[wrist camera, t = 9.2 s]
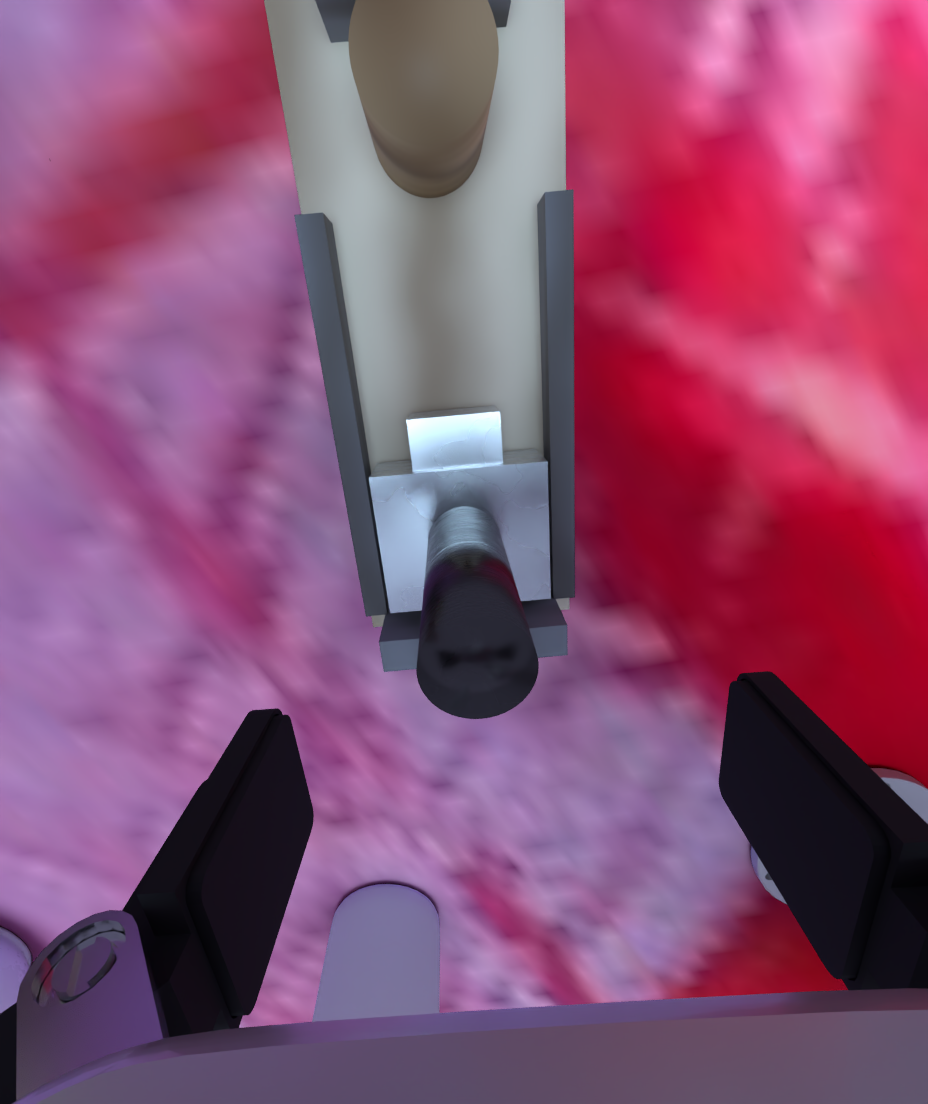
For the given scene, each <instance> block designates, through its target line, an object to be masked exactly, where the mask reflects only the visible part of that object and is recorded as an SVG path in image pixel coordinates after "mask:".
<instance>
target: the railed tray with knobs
mask: <svg viewBox="0 0 928 1104" xmlns="http://www.w3.org/2000/svg"><path fill="white" fill-rule="evenodd" d="M355 1H356V0H264V2H265V8H266V14H267V19H268V25H269V31H270V37H271V42H272V48H273V54H274V60H275V65H276V71H277V77H278V83H279V88H280V94H281V100H282V106H283V111H284V117H285V123H286V128H287V134H288V140H289V146H290V151H291V157H292V163H293V169H294V174H295V180H296V186H297V192H298V197H299V203H300V209H301V214H300V215H294V216H295V222H296V227H297V233H298V238H299V244H300V249H301V255H302V261H303V266H304V272H305V277H306V283H307V289H308V294H309V300H310V305H311V311H312V317H313V322H314V328H315V333H316V339H317V345H318V350H319V356H320V361H321V367H322V373H323V378H324V384H325V389H326V395H327V401H328V406H329V412H330V417H331V423H332V429H333V434H334V440H335V445H336V451H337V457H338V462H339V468H340V473H341V479H342V484H343V490H344V496H345V501H346V507H347V512H348V518H349V524H350V529H351V535H352V540H353V546H354V552H355V557H356V563H357V568H358V574H359V580H360V585H361V591H362V596H363V602H364V608H365V613H366V616H372V622H373V627H380V626H383V627H382V631H381V635H380V640H379V645H380V651H381V657H382V663H383V669H384V672H387V671H398V670H409V669H416V668H417V657H418V646H419V635H420V624H421V613H422V610H420V611H409V612H399V613H390V609H389V603H388V597H387V590H386V584H385V578H384V571H383V565H382V559H381V552H380V546H379V540H378V533H377V527H376V521H375V515H374V508H373V502H372V496H371V489H370V483H369V476H370V475H371V473H372V472H373V470H374V468H375V467H376V465H377V463H383V462H394V461H405V460H411V453H410V445H409V437H408V429H407V421H406V420H407V418H408V416H409V415H410V413H415V412H426V411H437V410H448V409H459V408H470V407H481V406H492V405H495V406H496V407H497V409H498V410H499V411H500V417H501V435H502V452H503V451H514V450H525V449H537V451H538V452H539V453H540V454H541V455H542V456H543V457H544V458H545V459H546V460H547V461H548V498H549V541H550V584H551V599H540V600H529V601H521V603H522V606H523V610H524V613H525V616H526V620H527V623H528V626H529V629H530V633H531V636H532V639H533V643H534V646H535V649H536V653H537V656H538V658H540V657H551V656H562V655H567V623H566V621H565V619H564V617H563V614H562V612H561V610H565V609H569V598H572V597H575V519H574V229H573V190H566V136H565V12H564V0H488V2H489V5H490V7H491V10H492V13H493V16H494V20H495V23H496V28H497V35H498V46H499V56H498V68H497V74H496V80H495V85H494V90H493V95H492V100H491V105H490V110H489V115H488V120H487V125H486V130H485V135H484V140H483V145H482V150H481V153H480V157H479V160H478V162H477V165H476V167H475V169H474V171H473V172H472V174H471V175H470V177H469V178H468V179H467V180H466V181H465V183H464V184H463V185H461V186H460V187H459V188H458V189H456V190H455V191H453V192H452V193H449V194H447V195H445V196H441V197H436V198H423V197H419V196H415V195H413V194H410V193H408V192H406V191H404V190H403V189H401V188H400V187H399V186H397V185H396V184H395V183H394V182H393V181H392V180H391V179H390V177H389V176H388V175H387V174H386V172H385V171H384V169H383V167H382V166H381V164H380V161H379V159H378V157H377V154H376V151H375V148H374V145H373V141H372V138H371V134H370V131H369V128H368V124H367V121H366V117H365V114H364V111H363V107H362V104H361V101H360V97H359V94H358V90H357V87H356V84H355V80H354V77H353V73H352V69H351V65H350V57H349V42H348V38H349V26H350V20H351V15H352V11H353V8H354V4H355Z"/></svg>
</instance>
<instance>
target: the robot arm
mask: <svg viewBox="0 0 928 1104" xmlns="http://www.w3.org/2000/svg"><path fill="white" fill-rule="evenodd" d="M719 788H720V792H721V795H722V797H723V799H724V801H725V803H726V804H727V806H728V808H729V809H730V811H731V813H732V814H733V816H734V818H735V819H736V821H737V822H738V824H739V826H740V827H741V829H742V831H743V832H744V834H745V836H746V837H747V839H748V841H749V842H750V844H751V846H752V847H751V861H752V866H753V868H754V870H755V873H756V875H757V876H758V878H759V880H760V881H761V883H762V884H763V886H764V887H765V889H766V890H767V891H768V892H769V893H770V894H771V895H772V896H773V897H774V898H776V899H778V900H780V901H781V902H783V903H785V904H787V905H788V906H789V908H790V910H791V911H792V913H793V915H794V916H795V918H796V920H797V921H798V923H799V925H800V926H801V928H802V930H803V931H804V933H805V934H806V936H807V938H808V939H809V941H810V943H811V944H812V946H813V948H814V949H815V951H816V953H817V954H818V956H819V958H820V959H821V961H822V962H823V964H824V966H825V967H826V969H827V970H828V972H829V973H830V974H831V975H832V976H833V977H834V978H836V979H842V980H843V982H844V983H845V985H846V987H847V988H848V990H843V991H814V992H792V993H774V994H755V995H737V996H718V997H700V998H682V999H663V1000H645V1001H629V1002H612V1003H595V1004H578V1005H561V1006H545V1007H529V1008H512V1009H496V1010H480V1011H464V1012H449V1013H434V1014H419V1015H404V1016H389V1017H374V1018H359V1019H344V1020H329V1021H315V1022H304V1023H292V1024H281V1025H269V1026H258V1027H246V1028H239V1025H240V1022H241V1019H242V1016H243V1015H249V1014H250V1013H251V1012H252V1010H253V1008H254V1006H255V1003H256V1000H257V997H258V994H259V991H260V988H261V985H262V982H263V979H264V976H265V972H266V969H267V966H268V963H269V960H270V957H271V954H272V951H273V948H274V945H275V941H276V938H277V935H278V932H279V929H280V926H281V923H282V920H283V917H284V914H285V910H286V907H287V904H288V901H289V898H290V895H291V892H292V889H293V886H294V882H295V879H296V876H297V873H298V870H299V867H300V864H301V861H302V858H303V855H304V851H305V848H306V845H307V842H308V839H309V836H310V833H311V830H312V826H313V807H312V803H311V799H310V795H309V791H308V787H307V783H306V779H305V775H304V771H303V767H302V763H301V759H300V755H299V751H298V747H297V743H296V739H295V735H294V731H293V727H292V723H291V719H290V717H289V716H288V715H282V712H281V711H280V709H264V710H252V711H250V712H249V713H248V714H247V716H246V717H245V719H244V721H243V722H242V724H241V726H240V727H239V729H238V730H237V732H236V734H235V735H234V737H233V739H232V740H231V742H230V743H229V745H228V747H227V748H226V750H225V752H224V753H223V755H222V757H221V758H220V760H219V761H218V763H217V765H216V766H215V768H214V770H213V771H212V773H211V774H210V776H209V778H208V779H207V780H206V781H204V782H203V783H202V784H201V786H200V787H199V788H198V790H197V791H196V793H195V795H194V796H193V798H192V799H191V801H190V803H189V804H188V806H187V807H186V809H185V811H184V812H183V814H182V815H181V817H180V819H179V820H178V822H177V823H176V825H175V827H174V828H173V830H172V831H171V833H170V835H169V836H168V838H167V839H166V841H165V843H164V844H163V846H162V848H161V849H160V851H159V852H158V854H157V856H156V857H155V859H154V860H153V862H152V864H151V865H150V867H149V868H148V870H147V872H146V873H145V875H144V876H143V878H142V880H141V881H140V883H139V884H138V886H137V888H136V889H135V891H134V892H133V894H132V896H131V897H130V899H129V901H128V902H127V904H126V905H125V907H124V909H123V910H122V911H116V910H109V911H105V912H101V913H98V914H94V915H92V916H90V917H88V918H86V919H84V920H81V921H79V922H77V923H76V924H74V925H73V926H71V927H70V928H68V929H67V930H66V931H64V932H63V933H61V934H60V935H59V936H57V937H56V938H55V939H54V940H53V941H52V942H51V943H50V944H49V945H48V946H47V947H46V948H45V949H44V950H43V951H42V952H41V953H40V954H39V956H38V957H37V958H36V959H35V961H34V962H33V963H32V964H31V966H30V967H29V969H28V971H27V972H26V974H25V976H24V978H23V980H22V982H21V984H20V987H19V992H18V997H17V1002H16V1003H15V1004H13V1005H12V1006H10V1007H9V1008H8V1009H6V1010H5V1011H3V1012H2V1013H0V1104H928V789H927V788H926V787H925V786H924V785H923V784H922V783H920V782H919V781H917V780H916V779H914V778H913V777H912V776H909V775H907V774H904V773H901V772H899V771H895V770H889V769H883V768H870V767H869V766H868V765H867V764H866V763H865V762H864V761H863V760H862V759H861V758H860V757H859V756H858V755H857V754H856V753H855V752H854V751H853V750H852V749H851V748H849V747H848V746H847V745H846V744H845V743H844V742H843V741H842V740H841V739H840V738H839V737H838V736H837V735H836V734H835V733H834V732H833V731H832V730H831V729H830V728H829V727H828V726H827V725H826V724H825V723H824V722H823V721H822V720H821V719H820V718H819V717H818V716H817V715H816V714H815V713H814V712H813V711H812V710H811V709H810V708H809V707H808V706H807V705H806V704H805V703H804V702H803V701H802V700H800V699H799V698H798V697H797V696H796V695H795V694H794V693H793V692H792V691H791V690H790V689H789V688H788V687H787V686H786V685H785V684H784V683H783V682H782V681H781V680H780V679H779V678H778V677H777V676H776V675H775V674H773V673H772V672H768V671H767V672H754V673H742V674H740V675H739V676H738V678H737V681H733V682H731V684H730V687H729V696H728V704H727V713H726V722H725V731H724V739H723V748H722V757H721V766H720V774H719Z"/></svg>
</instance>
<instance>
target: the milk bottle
mask: <svg viewBox="0 0 928 1104" xmlns="http://www.w3.org/2000/svg"><path fill="white" fill-rule="evenodd" d="M439 982H440V921H439V916H438V914H437V911H436V909H435V906H434V905H433V904H432V902H431V901H430V900H429V899H428V898H427V897H426V896H425V895H424V894H422V893H420V892H418V891H417V890H414V889H412V888H409V887H406V886H401V885H394V884H377V885H372V886H367V887H365V888H362V889H359V890H357V891H355V892H353V893H351V894H350V895H349V896H348V897H346V898H345V899H344V900H343V902H342V903H341V904H340V905H339V907H338V908H337V910H336V912H335V914H334V917H333V921H332V925H331V930H330V934H329V939H328V944H327V949H326V954H325V959H324V964H323V969H322V974H321V980H320V985H319V990H318V995H317V1000H316V1005H315V1010H314V1015H313V1020H312V1022H315V1021H329V1020H344V1019H359V1018H374V1017H389V1016H404V1015H419V1014H434V1013H439Z"/></svg>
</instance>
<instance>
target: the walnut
mask: <svg viewBox="0 0 928 1104" xmlns="http://www.w3.org/2000/svg"><path fill="white" fill-rule="evenodd" d="M348 42H349V57H350V65H351V69H352V73H353V77H354V80H355V84H356V87H357V90H358V94H359V97H360V101H361V104H362V107H363V111H364V114H365V117H366V121H367V124H368V128H369V131H370V134H371V138H372V141H373V145H374V148H375V151H376V154H377V157H378V159H379V161H380V164H381V166H382V167H383V169H384V171H385V172H386V174H387V175H388V176H389V177H390V179H391V180H392V181H393V182H394V183H395V184H396V185H397V186H399V187H400V188H401V189H403V190H404V191H406V192H408V193H410V194H413V195H415V196H419V197H423V198H436V197H441V196H445V195H447V194H449V193H452V192H453V191H455V190H456V189H458V188H459V187H460V186H461V185H463V184H464V183H465V181H466V180H467V179H468V178H469V177H470V175H471V174H472V172H473V171H474V169H475V167H476V165H477V162H478V160H479V157H480V153H481V150H482V145H483V140H484V135H485V130H486V125H487V120H488V115H489V110H490V105H491V100H492V95H493V90H494V85H495V80H496V74H497V68H498V56H499V46H498V35H497V28H496V23H495V20H494V16H493V13H492V10H491V7H490V5H489V2H488V0H356V1H355V4H354V8H353V11H352V15H351V20H350V26H349V38H348Z"/></svg>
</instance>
